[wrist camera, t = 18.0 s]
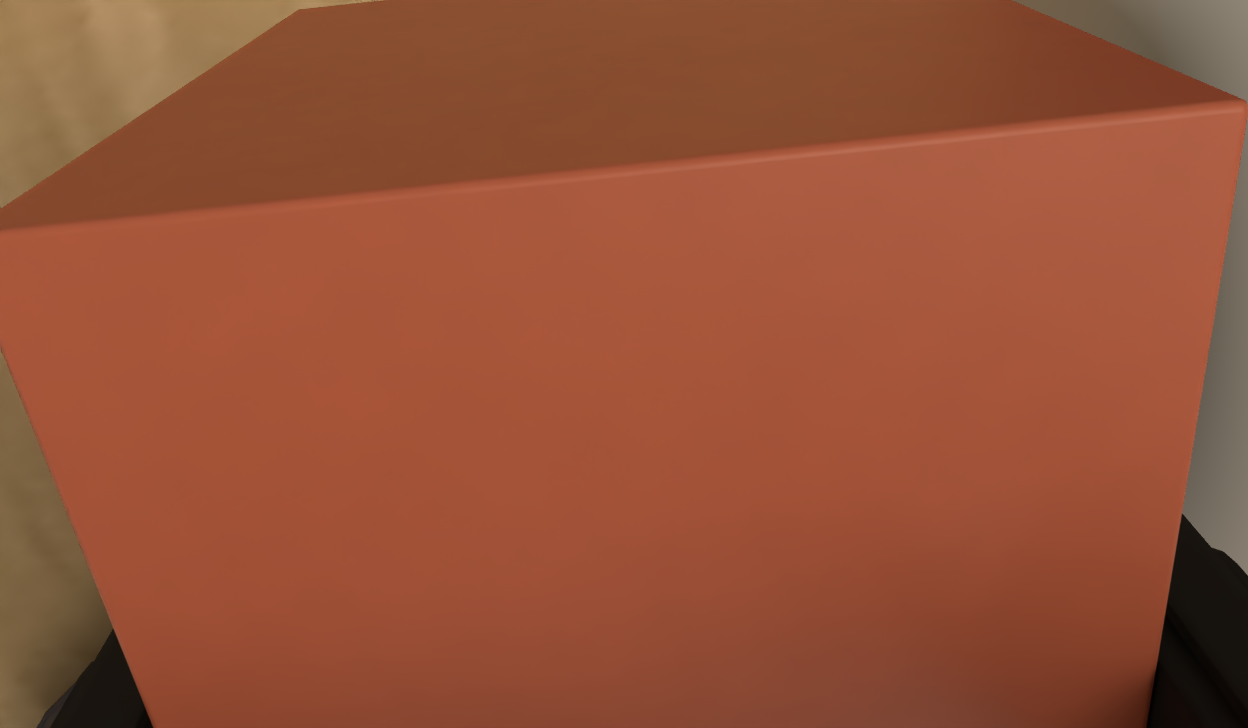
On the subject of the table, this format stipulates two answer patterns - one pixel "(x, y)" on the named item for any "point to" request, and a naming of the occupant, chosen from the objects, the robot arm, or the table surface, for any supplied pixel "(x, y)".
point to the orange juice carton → (635, 366)
